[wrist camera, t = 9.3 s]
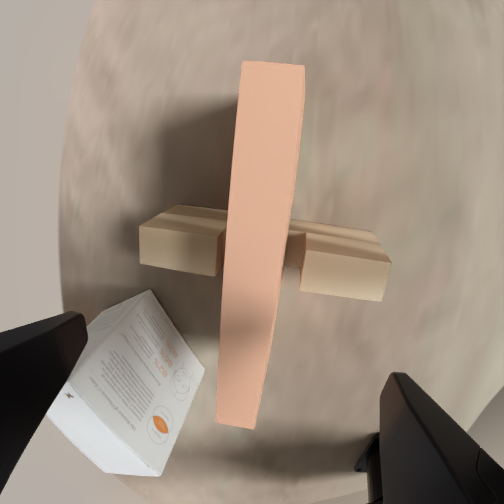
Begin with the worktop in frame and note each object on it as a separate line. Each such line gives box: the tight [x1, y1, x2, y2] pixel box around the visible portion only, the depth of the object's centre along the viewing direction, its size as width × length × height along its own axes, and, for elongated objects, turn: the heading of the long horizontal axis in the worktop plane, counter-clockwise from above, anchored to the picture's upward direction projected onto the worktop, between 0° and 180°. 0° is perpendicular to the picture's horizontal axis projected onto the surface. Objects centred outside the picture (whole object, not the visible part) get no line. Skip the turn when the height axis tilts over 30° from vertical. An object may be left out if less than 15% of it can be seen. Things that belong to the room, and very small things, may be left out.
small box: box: [46, 290, 205, 476], centre depth 19 cm, size 8×6×10 cm
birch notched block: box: [139, 204, 392, 302], centre depth 17 cm, size 2×12×5 cm, turn 85°
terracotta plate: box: [216, 61, 305, 429], centre depth 15 cm, size 16×2×8 cm, turn 175°
